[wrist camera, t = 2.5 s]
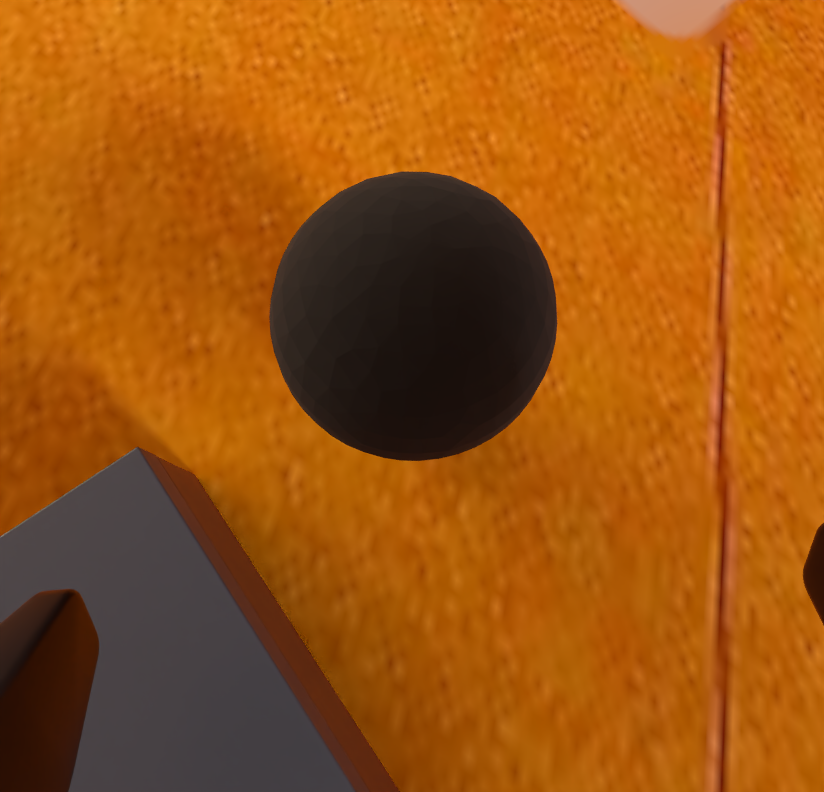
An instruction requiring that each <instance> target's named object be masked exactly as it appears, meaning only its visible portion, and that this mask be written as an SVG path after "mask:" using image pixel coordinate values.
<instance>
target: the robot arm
mask: <svg viewBox="0 0 824 792" xmlns="http://www.w3.org/2000/svg"><path fill="white" fill-rule="evenodd" d="M803 580H804V584H805V588H806V590H807V592H808V594H809V596H810V599H811V601H812V603H813V605H814V607H815V609H816V611H817V613H818V615H819V617H820V619H821V621H822V623H823V625H824V523H823V524H822V525H821V526H820V527H819V528H818V530H817V532H816V535H815V537H814V540H813V543H812V546H811V549H810V551H809V554H808V557H807V560H806V563H805V565H804V569H803ZM98 655H99V638H98V634H97V631H96V629H95V627H94V624H93V622H92V619H91V617H90V615H89V612H88V610H87V608H86V605H85V603H84V601H83V598H82V596H81V595H80V593H79V592H78V591H76V590H74V589H61V590H50V591H42V592H39V593H37V594H35V595H34V596H33V597H31V598H30V599H29V600H28V601H26V602H25V603H24V604H23V605H22V606H20V607H19V608H18V609H17V610H16V611H15V612H13V613H12V614H11V615H10V616H9V617H7V618H6V619H5V620H4V621H3V622H1V623H0V792H68V791H69V788H70V784H71V780H72V776H73V772H74V768H75V763H76V759H77V754H78V749H79V745H80V740H81V735H82V731H83V726H84V721H85V717H86V712H87V707H88V702H89V698H90V693H91V688H92V684H93V679H94V674H95V670H96V665H97V660H98Z"/></svg>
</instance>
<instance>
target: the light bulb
mask: <svg viewBox="0 0 824 792" xmlns="http://www.w3.org/2000/svg"><path fill="white" fill-rule="evenodd" d="M556 330H557V312H556V296H555V290H554V284H553V279H552V276H551V273H550V270H549V267H548V263H547V261H546V259H545V257H544V255H543V253H542V251H541V249H540V247H539V245H538V244H537V242H536V241H535V239H534V238H533V236H532V234H531V233H530V232H529V230H528V229H527V228H526V227H525V225H524V224H523V223H522V222H521V220H520V219H519V218H518V217H517V216H516V215H515V214H514V213H512V212H511V211H510V210H509V209H508V208H507V207H506V206H505V205H504V204H503V203H501V202H500V201H499V200H498V199H497V198H496V197H494V196H493V195H491V194H489V193H487V192H485V191H483V190H481V189H479V188H478V187H476V186H473V185H471V184H469V183H466V182H464V181H461V180H459V179H456V178H454V177H452V176H447V175H441V174H435V173H429V172H398V173H393V174H389V175H384V176H379V177H374V178H370V179H366V180H364V181H362V182H360V183H358V184H356V185H354V186H351V187H349V188H347V189H345V190H343V191H341V192H339V193H338V194H337V195H335V196H334V197H333V198H331V199H330V200H329V201H327V202H326V203H325V204H324V205H322V206H321V207H320V208H319V209H318V210H317V211H315V212H314V213H313V214H312V215H311V216H310V217H309V218H308V219H307V221H306V222H305V223H304V224H303V225H302V226H301V227H300V229H299V230H298V231H297V233H296V234H295V235H294V237H293V238H292V240H291V241H290V243H289V245H288V247H287V249H286V251H285V252H284V254H283V257H282V260H281V262H280V265H279V267H278V270H277V274H276V279H275V283H274V288H273V292H272V297H271V305H270V332H271V339H272V344H273V348H274V353H275V356H276V358H277V361H278V364H279V367H280V370H281V372H282V375H283V378H284V380H285V382H286V384H287V385H288V387H289V389H290V391H291V393H292V395H293V396H294V398H295V399H296V400H297V402H298V403H299V405H300V406H301V407H302V409H303V410H304V411H305V412H306V413H307V414H308V415H309V416H310V417H311V418H312V419H313V420H314V421H315V422H316V423H317V424H318V425H319V426H320V427H322V428H323V429H324V430H325V431H327V432H328V433H329V434H330V435H332V436H333V437H335V438H336V439H338V440H340V441H341V442H343V443H345V444H346V445H348V446H351V447H353V448H356V449H358V450H360V451H363V452H366V453H369V454H373V455H376V456H380V457H383V458H389V459H396V460H408V461H421V460H430V459H439V458H443V457H447V456H452V455H456V454H459V453H462V452H464V451H467V450H469V449H472V448H475V447H477V446H478V445H480V444H482V443H484V442H486V441H488V440H489V439H491V438H493V437H494V436H495V435H497V434H498V433H499V432H501V431H502V430H503V429H505V428H506V427H507V426H508V425H509V424H510V423H511V422H512V421H513V420H514V419H515V418H517V417H518V416H519V415H520V413H521V412H522V411H523V409H524V408H525V407H526V406H527V404H528V403H529V402H530V400H531V399H532V397H533V395H534V393H535V392H536V390H537V388H538V386H539V385H540V383H541V381H542V379H543V377H544V376H545V373H546V371H547V368H548V366H549V363H550V361H551V357H552V353H553V349H554V345H555V340H556Z"/></svg>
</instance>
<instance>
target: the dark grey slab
mask: <svg viewBox="0 0 824 792" xmlns="http://www.w3.org/2000/svg"><path fill="white" fill-rule="evenodd" d="M61 589H74V590H76V591H78V592H79V593H80V595H81V596H82V598H83V601H84V603H85V605H86V608H87V610H88V612H89V615H90V617H91V619H92V622H93V624H94V627H95V629H96V631H97V634H98V638H99V655H98V660H97V665H96V670H95V674H94V679H93V684H92V688H91V693H90V698H89V702H88V707H87V712H86V717H85V721H84V726H83V731H82V735H81V740H80V745H79V749H78V754H77V759H76V763H75V768H74V772H73V776H72V780H71V784H70V788H69V791H68V792H399V790H398V789H397V787H396V786H395V784H394V782H393V781H392V779H391V778H390V776H389V775H388V773H387V772H386V770H385V768H384V767H383V765H382V764H381V762H380V761H379V759H378V758H377V756H376V755H375V753H374V751H373V750H372V748H371V747H370V745H369V744H368V742H367V741H366V739H365V738H364V736H363V734H362V733H361V731H360V730H359V728H358V727H357V725H356V724H355V722H354V721H353V719H352V717H351V716H350V714H349V713H348V711H347V710H346V708H345V707H344V705H343V704H342V702H341V700H340V699H339V697H338V696H337V694H336V693H335V691H334V690H333V688H332V686H331V685H330V683H329V682H328V680H327V679H326V677H325V676H324V674H323V673H322V671H321V669H320V668H319V666H318V665H317V663H316V662H315V660H314V659H313V657H312V656H311V654H310V652H309V651H308V649H307V648H306V646H305V645H304V643H303V642H302V640H301V639H300V637H299V635H298V634H297V632H296V631H295V629H294V628H293V626H292V625H291V623H290V621H289V620H288V618H287V617H286V615H285V614H284V612H283V611H282V609H281V608H280V606H279V604H278V603H277V601H276V600H275V598H274V597H273V595H272V594H271V592H270V591H269V589H268V587H267V586H266V584H265V583H264V581H263V580H262V578H261V577H260V575H259V574H258V572H257V570H256V569H255V567H254V566H253V564H252V563H251V561H250V560H249V558H248V556H247V555H246V553H245V552H244V550H243V549H242V547H241V546H240V544H239V543H238V541H237V539H236V538H235V536H234V535H233V533H232V532H231V530H230V529H229V527H228V526H227V524H226V522H225V521H224V519H223V518H222V516H221V515H220V513H219V512H218V510H217V509H216V507H215V505H214V504H213V502H212V501H211V499H210V498H209V496H208V495H207V493H206V491H205V490H204V488H203V487H202V485H201V484H200V482H199V481H198V479H197V478H196V476H195V475H194V474H192V473H190V472H188V471H186V470H184V469H182V468H179V467H177V466H175V465H173V464H171V463H169V462H167V461H165V460H163V459H161V458H158V457H156V456H155V455H153V454H151V453H149V452H147V451H145V450H143V449H141V448H139V447H137V448H135V449H133V450H132V451H130V452H129V453H127V454H126V455H124V456H123V457H121V458H120V459H118V460H117V461H115V462H114V463H112V464H111V465H109V466H107V467H106V468H104V469H103V470H101V471H100V472H98V473H97V474H95V475H94V476H92V477H91V478H89V479H88V480H86V481H85V482H83V483H81V484H80V485H78V486H77V487H75V488H74V489H72V490H71V491H69V492H68V493H66V494H65V495H63V496H62V497H60V498H59V499H57V500H55V501H54V502H52V503H51V504H49V505H48V506H46V507H45V508H43V509H42V510H40V511H39V512H37V513H36V514H34V515H33V516H31V517H29V518H28V519H26V520H25V521H23V522H22V523H20V524H19V525H17V526H16V527H14V528H13V529H11V530H10V531H8V532H7V533H5V534H4V535H2V536H0V623H1V622H3V621H4V620H5V619H6V618H7V617H9V616H10V615H11V614H12V613H13V612H15V611H16V610H17V609H18V608H19V607H20V606H22V605H23V604H24V603H25V602H26V601H28V600H29V599H30V598H31V597H33V596H34V595H35V594H37V593H39V592H42V591H50V590H61Z"/></svg>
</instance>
